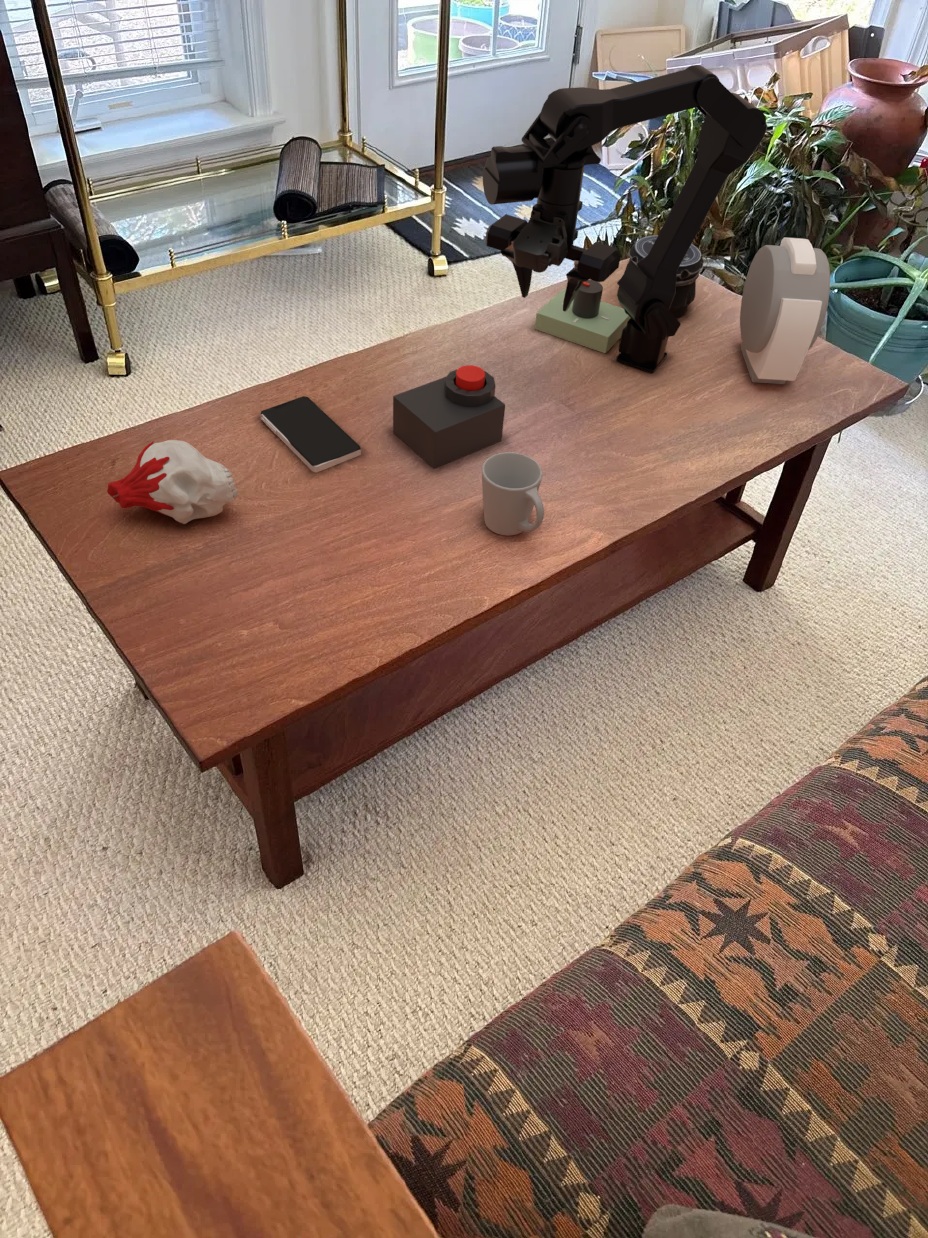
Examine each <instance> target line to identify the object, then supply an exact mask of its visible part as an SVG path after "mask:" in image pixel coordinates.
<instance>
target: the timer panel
mask: <svg viewBox="0 0 928 1238" xmlns="http://www.w3.org/2000/svg"><path fill="white" fill-rule="evenodd" d="M565 292H566V288H562V289H561V290H560V291H559V292H558V293H557V294H556V295H554V296H553V298H551V299H550V300H549V301H548V302H547V303H545V304H544V305H543V306H542V307H541V308H540V309H539V310H538V311H537V312H536V313H535V314H536V315H535V324H534V330H536V331H539V332H542V333H545V334H548V335H551V336H553V337H557V338H559V339H562V340H565V341H568V342H571V343H574V344H576V345H579V346H583V347H586V348H588V349H591V350H594V351H597V352H599V353H603V354H607V352H608V351H610V349H611V348H612V347H613V346H614V345H615V344H616V343H617V342H618V341H620V340H621V335H622V330H623V328H624V327H625V326H626V325H627V322H628V321H629V320H630V317H629V315H628V314H626V313H625V311H624V307H620V306H617V305H615V304H611V303H608V302H605V301H602V300H601V302H600V308H599V313H598V315H597V316H596V317H594V318H581V317H578V316H576V315H575V314H574V313H573V312H572V307H573V301H572V303H571V305H570V306H569V308H568V310H566V311H563V301H564V297H565ZM573 300H574V299H573Z"/></svg>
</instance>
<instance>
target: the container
mask: <svg viewBox="0 0 928 1238" xmlns="http://www.w3.org/2000/svg"><path fill="white" fill-rule="evenodd" d="M658 235H659V234H653V235H646V236H643V237H641V238H638V239H637V240H636V241H635V242H634V244H632V245H631V248H629V250H628V258H629V259H628V262H627V264H628V263H629V261H631V260H632V261H634V262H636V263H638V262H639V261H640V260H642V259H643V258H645V257H646V256H647V255H648V254H649V252H650V250H651V248H652V247H653V245H654V243H655V241H656V239H657V237H658ZM703 267H704V259H703V256H702V252H701V250H700V248H698V246H696V245H695V244H693V243H692V244H691V246H690V247H689V249H688V251H687V253H686V255H685V257H684V259H683V260H682V262H681V264H680V266H679V268H678V271H677V278H676V291H675V296H674V298H673V301H672V303H671V306H670V309H669V311H670V312H671V313H672V314H673V315H674V316H675V318H676V319H679V318H681V317H683V316H684V315H686V313H687V311H688V306H689V305H690V304H691V303H692V302H694V301H695V298H696V289H697V288H696V287H697V283H696V282H697V280H698V279H699V277H700V272H701V270H702V268H703Z"/></svg>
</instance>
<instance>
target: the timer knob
mask: <svg viewBox="0 0 928 1238" xmlns="http://www.w3.org/2000/svg"><path fill="white" fill-rule="evenodd" d="M603 289H604V286H603V285H602V284H601V282H596V281H593V280H590V279H589V280H588V281H585V282H583V284H582V285H581V287H580V289H579V291H578V292H577V294H576V296H575V298H574V300H573V307H572V312H573V313H574V314H575V315H576V316H578V317H581V318H594V317H596V316H597V315H598V313H599V308H600V302H601V301H602V296H603Z"/></svg>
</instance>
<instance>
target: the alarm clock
mask: <svg viewBox="0 0 928 1238" xmlns="http://www.w3.org/2000/svg"><path fill="white" fill-rule="evenodd" d="M830 290H831V269H830V262H829V259H828V256H827V255H826V253H825V252H824V251H823V250H822V249H821V248H816V247H813V245H812V243H811V242H810V240H809V239H808V238H798V237H783V238H782V239H781V242H780V244H779V245H771V244H766V245H763V246H762V247H760V248H759V249H758V251H756V252H755V255H754V257H753V259H752V260H751V263H750V266H749V268H748V272H747V274H746V277H745V281H744V285H743V289H742V295H741V301H740V302H741V303H740V311H739V328H740V329H739V331H740V338H741V343H740V350H741V352H742V357H743V359H744V362H745V366H746V368H747V371H748V374H749V378H750V380H751V383H760V384H776V385H786V382H787V381H789V382H790V381H792V382H795V381H796V379H797V377H798V374H799V372H800V370H801V368H802V366H803V364H804V362H805V359H806V357H807V354H808V352H809V351H810V350H811V348H812V347H813V346H814V344H815V343H816V342H817V339H818V337H819V336H820V333H821V331H822V327H823V324H824V322H825V318H826V314H827V311H828V304H829V301H830V299H829V298H830Z"/></svg>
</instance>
